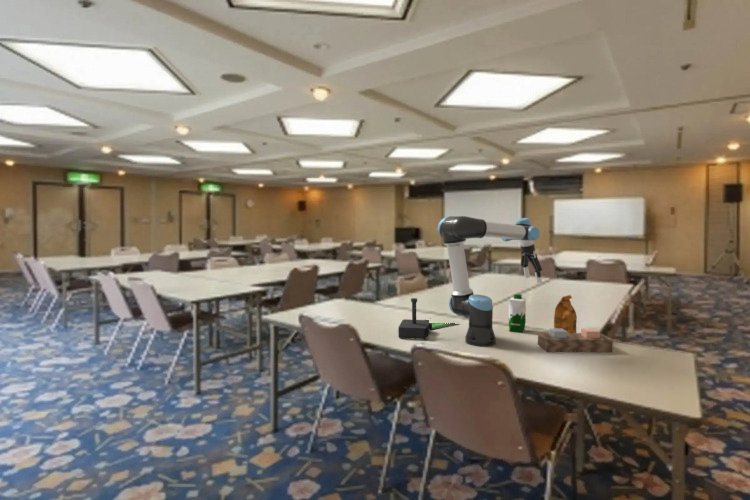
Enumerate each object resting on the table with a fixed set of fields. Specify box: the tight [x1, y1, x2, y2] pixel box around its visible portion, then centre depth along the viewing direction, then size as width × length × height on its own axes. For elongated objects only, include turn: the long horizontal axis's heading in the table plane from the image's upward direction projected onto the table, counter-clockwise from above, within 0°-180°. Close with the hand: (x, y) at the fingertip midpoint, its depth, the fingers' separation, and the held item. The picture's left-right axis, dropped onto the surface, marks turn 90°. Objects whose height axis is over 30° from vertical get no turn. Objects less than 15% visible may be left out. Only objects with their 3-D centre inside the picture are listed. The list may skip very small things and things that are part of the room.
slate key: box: [548, 327, 567, 338], centre depth 200 cm, size 6×6×5 cm
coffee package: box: [553, 294, 578, 333], centre depth 219 cm, size 10×12×22 cm
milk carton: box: [508, 293, 527, 333], centre depth 234 cm, size 9×9×20 cm
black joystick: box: [397, 297, 433, 340], centre depth 229 cm, size 19×17×20 cm
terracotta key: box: [580, 327, 601, 338], centre depth 199 cm, size 6×6×5 cm
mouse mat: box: [431, 323, 458, 331], centre depth 254 cm, size 27×22×1 cm
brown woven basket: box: [537, 332, 614, 353], centre depth 200 cm, size 30×12×6 cm, turn 87°
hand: (533, 280), depth 244 cm, fingers open, 13 cm apart
